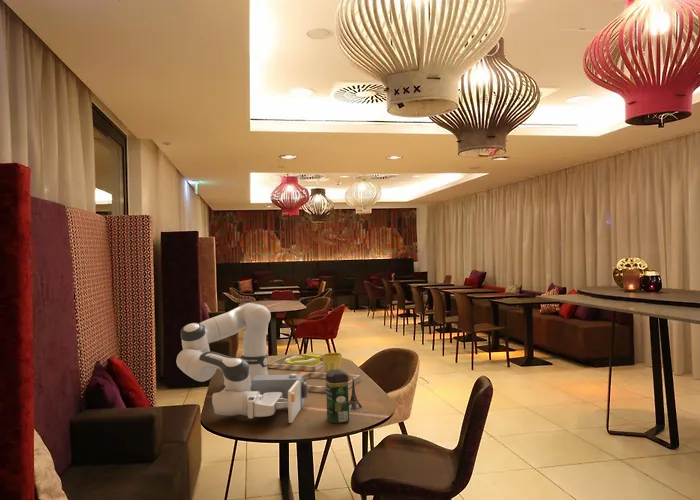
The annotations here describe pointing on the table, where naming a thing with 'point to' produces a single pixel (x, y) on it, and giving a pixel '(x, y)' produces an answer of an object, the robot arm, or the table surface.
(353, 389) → the eiffel tower figurine
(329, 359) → the plant pot
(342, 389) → the coffee jar
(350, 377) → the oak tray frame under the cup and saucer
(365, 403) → the table surface
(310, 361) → the ashtray
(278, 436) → the table surface
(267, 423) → the table surface
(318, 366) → the oak tray frame under the ashtray
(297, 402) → the side door
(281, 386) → the camera body
